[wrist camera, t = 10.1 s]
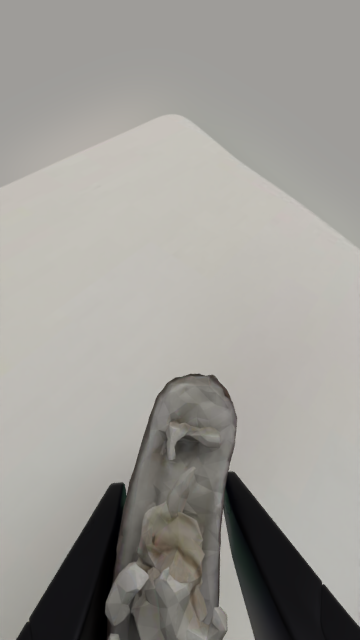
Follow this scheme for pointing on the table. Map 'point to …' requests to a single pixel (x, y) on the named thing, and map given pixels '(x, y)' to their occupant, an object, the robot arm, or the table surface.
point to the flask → (175, 518)
